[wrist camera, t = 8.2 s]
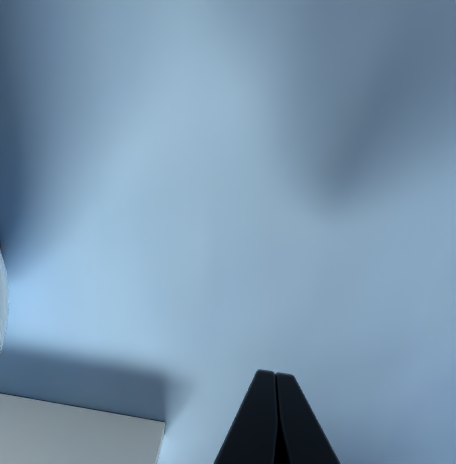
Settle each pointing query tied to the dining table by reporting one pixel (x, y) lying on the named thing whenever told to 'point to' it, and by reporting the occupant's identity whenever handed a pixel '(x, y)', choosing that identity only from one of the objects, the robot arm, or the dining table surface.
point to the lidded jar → (3, 300)
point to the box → (74, 435)
